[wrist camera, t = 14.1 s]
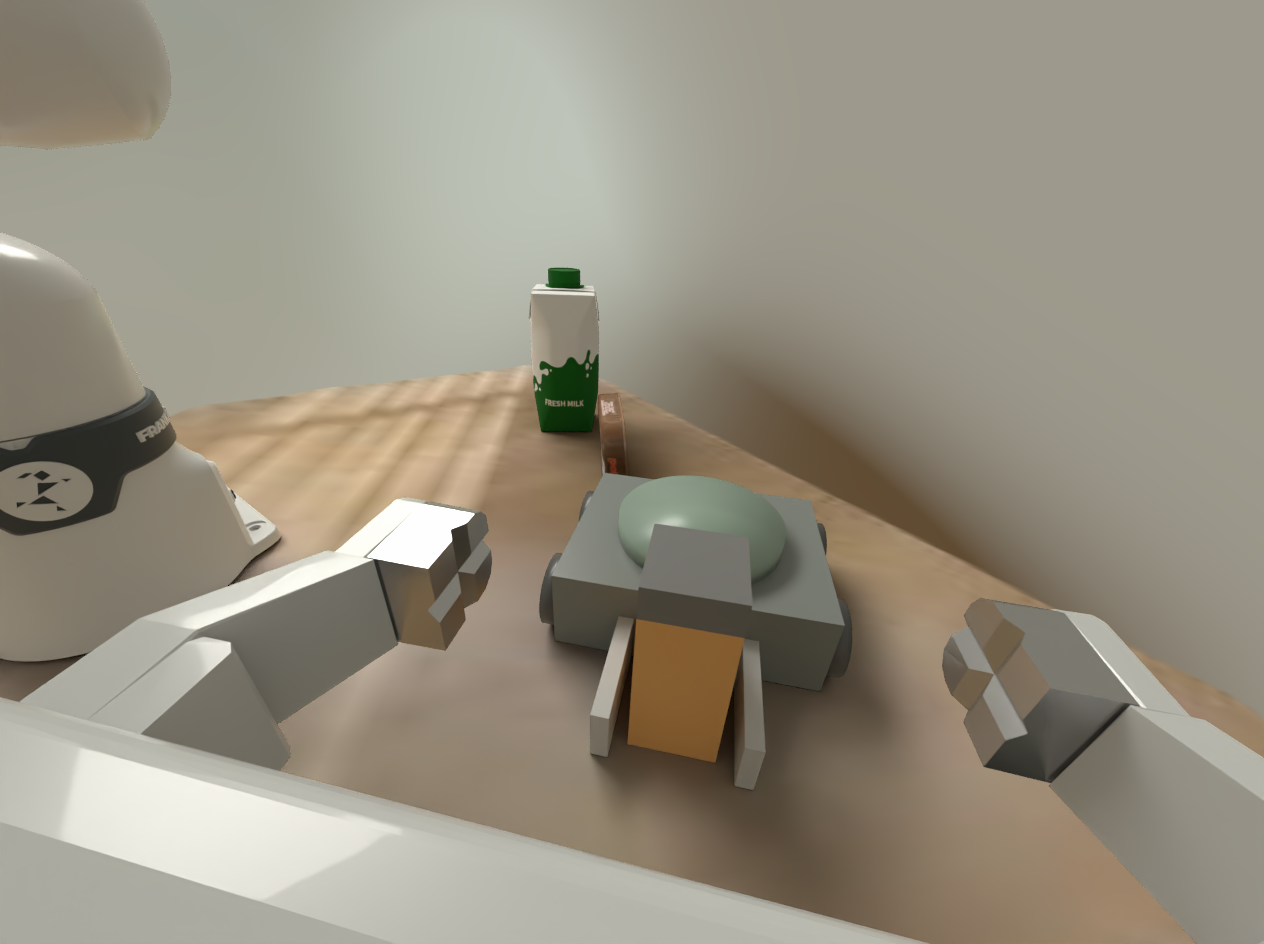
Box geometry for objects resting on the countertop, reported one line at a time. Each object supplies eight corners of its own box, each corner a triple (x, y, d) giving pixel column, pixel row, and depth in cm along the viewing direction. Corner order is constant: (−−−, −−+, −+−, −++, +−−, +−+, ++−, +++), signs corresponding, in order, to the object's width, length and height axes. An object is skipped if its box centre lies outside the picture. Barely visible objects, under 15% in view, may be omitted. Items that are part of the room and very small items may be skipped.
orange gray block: (715, 762, 26) (752, 606, 20) (627, 743, 27) (638, 586, 21) (717, 685, 30) (748, 537, 24) (642, 670, 31) (654, 523, 25)
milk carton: (597, 410, 71) (598, 268, 61) (598, 435, 63) (600, 277, 53) (538, 409, 70) (531, 266, 60) (533, 434, 62) (522, 274, 52)
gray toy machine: (862, 814, 24) (911, 726, 20) (498, 732, 27) (483, 642, 23) (806, 557, 42) (827, 487, 38) (593, 525, 45) (593, 456, 41)
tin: (629, 508, 48) (633, 434, 44) (598, 508, 48) (599, 433, 43) (620, 444, 61) (622, 382, 57) (596, 444, 61) (596, 382, 57)
